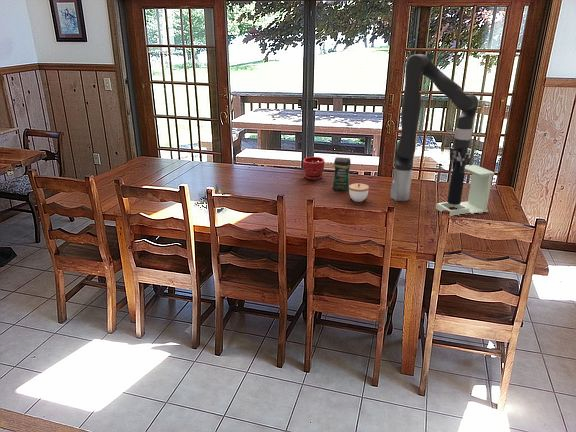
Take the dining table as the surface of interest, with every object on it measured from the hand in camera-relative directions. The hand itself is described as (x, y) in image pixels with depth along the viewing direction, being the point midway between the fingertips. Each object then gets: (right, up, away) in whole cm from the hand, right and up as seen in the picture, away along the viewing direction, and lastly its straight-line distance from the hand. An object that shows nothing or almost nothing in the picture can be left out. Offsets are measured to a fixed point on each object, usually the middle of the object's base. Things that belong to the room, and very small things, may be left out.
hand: (457, 171), depth 224 cm
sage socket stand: (+5, -19, +10) cm, 22 cm away
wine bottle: (0, -16, +7) cm, 17 cm away
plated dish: (-126, -15, +24) cm, 129 cm away
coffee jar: (-53, -6, +42) cm, 68 cm away
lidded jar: (-46, -14, +24) cm, 54 cm away
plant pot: (-68, +2, +60) cm, 91 cm away
